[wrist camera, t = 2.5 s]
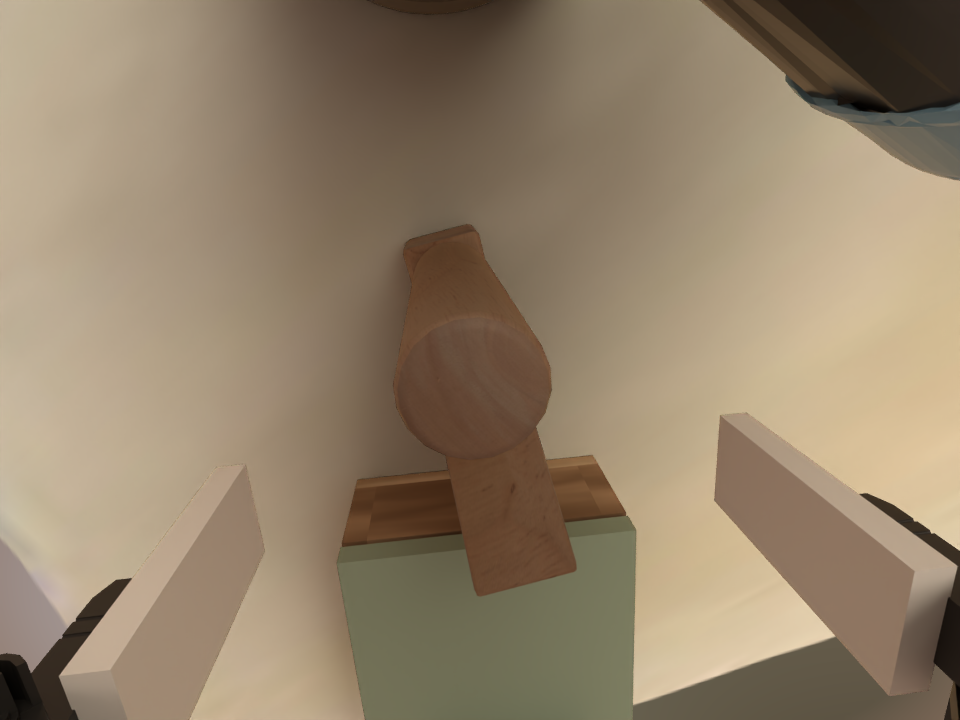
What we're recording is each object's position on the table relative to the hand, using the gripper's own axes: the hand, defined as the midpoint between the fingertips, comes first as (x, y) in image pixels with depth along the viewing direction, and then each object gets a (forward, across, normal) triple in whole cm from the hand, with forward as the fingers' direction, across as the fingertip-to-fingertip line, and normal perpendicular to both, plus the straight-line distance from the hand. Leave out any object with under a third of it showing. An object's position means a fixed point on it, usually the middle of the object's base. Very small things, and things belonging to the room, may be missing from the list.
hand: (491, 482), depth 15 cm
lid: (+9, 0, -16) cm, 19 cm away
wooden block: (+16, 0, 0) cm, 16 cm away
